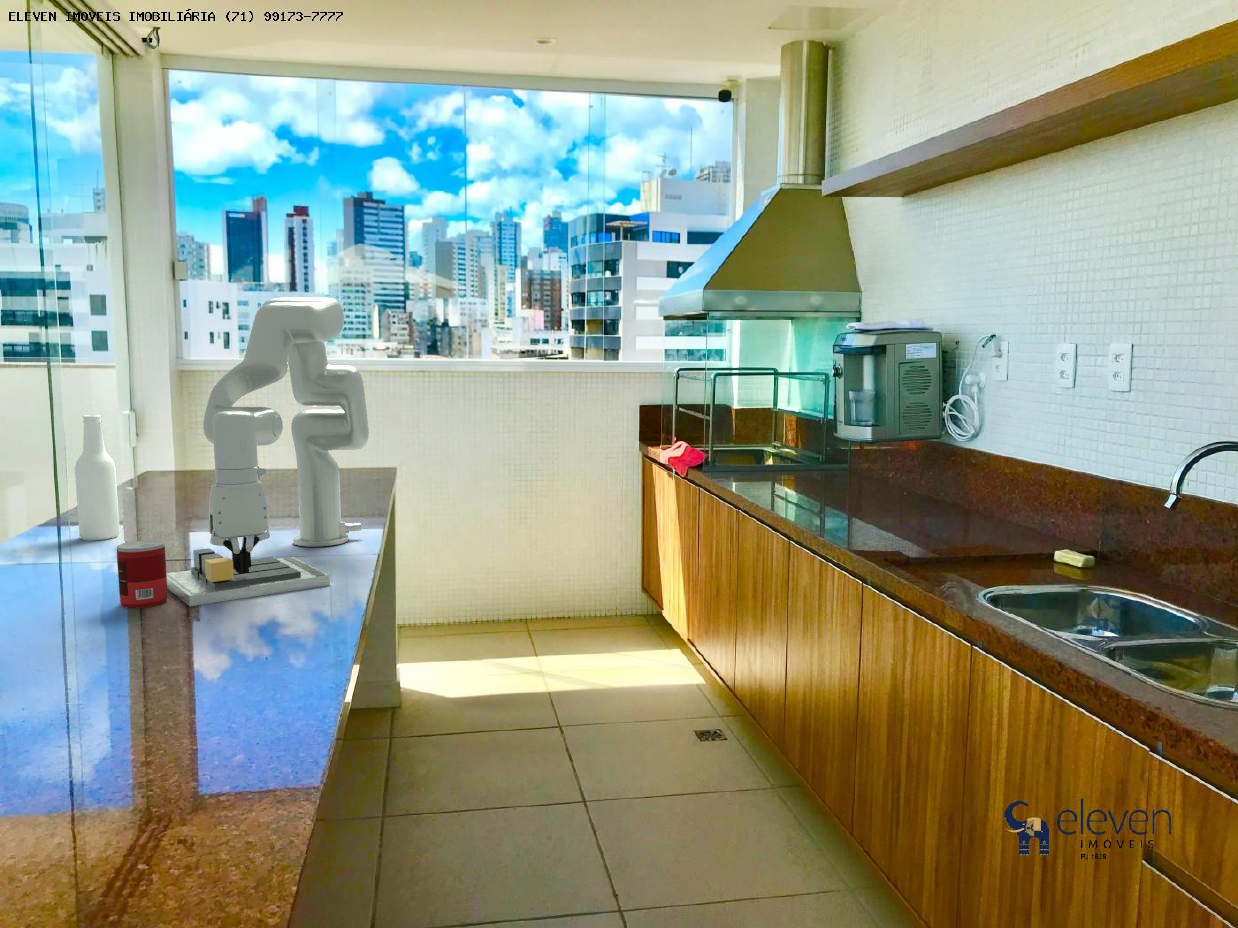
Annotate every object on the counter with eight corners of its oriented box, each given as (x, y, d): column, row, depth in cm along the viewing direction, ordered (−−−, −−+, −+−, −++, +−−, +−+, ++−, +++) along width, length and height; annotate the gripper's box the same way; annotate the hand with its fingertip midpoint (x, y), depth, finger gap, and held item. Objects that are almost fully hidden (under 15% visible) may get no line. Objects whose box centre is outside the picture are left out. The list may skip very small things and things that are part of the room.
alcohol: (71, 539, 239) (62, 416, 235) (102, 532, 247) (94, 413, 243) (97, 542, 236) (89, 417, 232) (128, 535, 244) (120, 414, 240)
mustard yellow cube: (227, 575, 187) (226, 557, 187) (233, 579, 184) (232, 560, 184) (205, 578, 185) (204, 559, 184) (211, 582, 182) (210, 563, 181)
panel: (293, 566, 210) (292, 536, 209) (330, 585, 193) (328, 552, 192) (162, 584, 194) (160, 551, 193) (189, 606, 177) (187, 571, 177)
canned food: (177, 599, 182) (174, 541, 181) (143, 610, 175) (140, 549, 173) (144, 596, 185) (141, 538, 183) (110, 606, 177) (106, 546, 176)
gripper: (270, 471, 192) (275, 563, 194) (189, 478, 183) (195, 574, 185) (283, 475, 186) (288, 570, 188) (201, 482, 177) (206, 582, 179)
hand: (242, 572), depth 187 cm, fingers closed
